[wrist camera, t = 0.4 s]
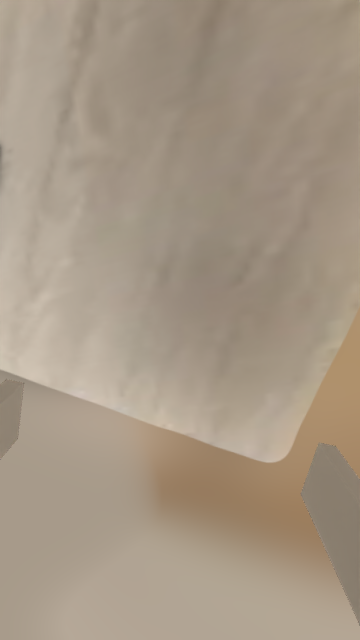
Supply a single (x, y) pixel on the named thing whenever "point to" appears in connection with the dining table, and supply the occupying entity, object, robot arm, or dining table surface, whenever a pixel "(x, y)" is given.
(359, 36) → the dining table surface
